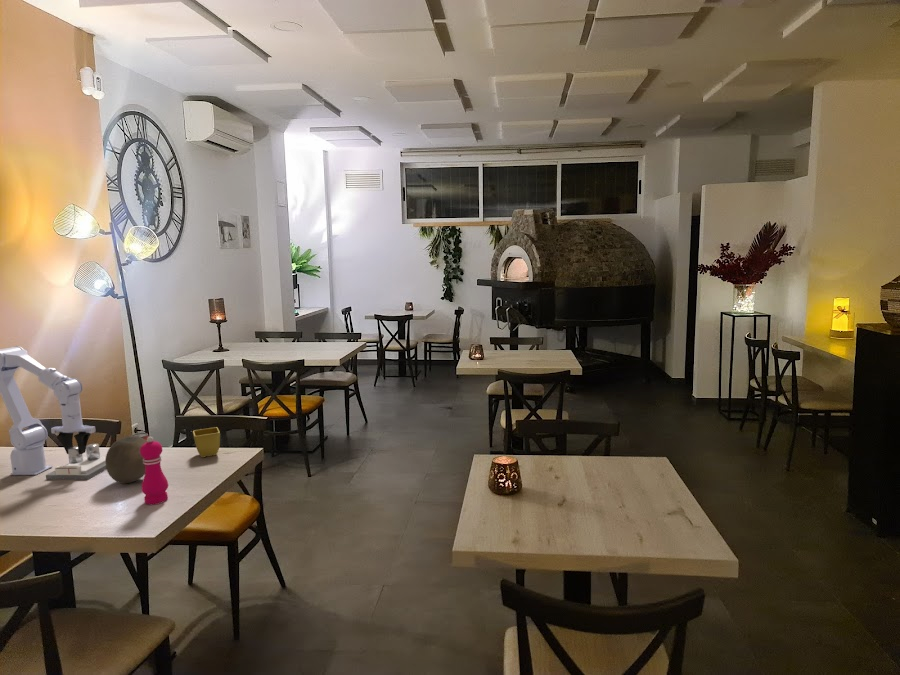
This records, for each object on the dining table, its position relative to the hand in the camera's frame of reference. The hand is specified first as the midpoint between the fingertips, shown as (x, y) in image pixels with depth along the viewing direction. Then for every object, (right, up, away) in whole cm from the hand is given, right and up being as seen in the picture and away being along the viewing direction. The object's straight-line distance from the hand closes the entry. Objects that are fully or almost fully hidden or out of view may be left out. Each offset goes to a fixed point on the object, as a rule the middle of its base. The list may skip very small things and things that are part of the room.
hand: (76, 453), depth 204 cm
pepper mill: (+39, -10, -24) cm, 47 cm away
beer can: (+20, -6, +4) cm, 22 cm away
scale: (0, -7, +4) cm, 8 cm away
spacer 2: (+1, -4, +9) cm, 10 cm away
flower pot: (+39, -4, +17) cm, 42 cm away
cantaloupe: (+24, -8, -8) cm, 26 cm away
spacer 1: (0, -3, 0) cm, 3 cm away
